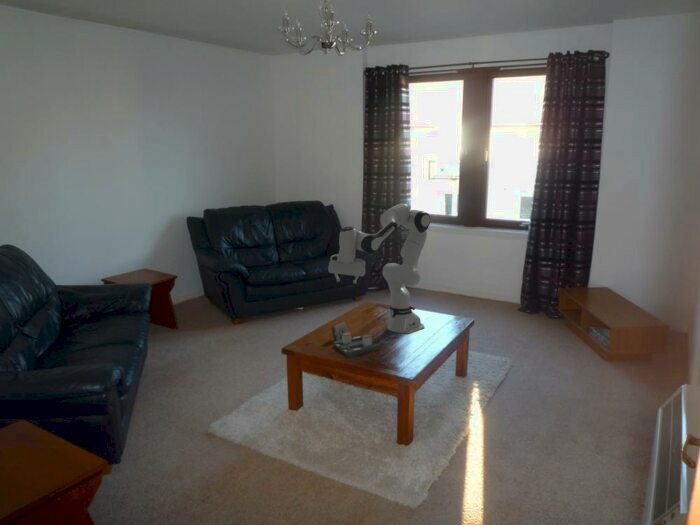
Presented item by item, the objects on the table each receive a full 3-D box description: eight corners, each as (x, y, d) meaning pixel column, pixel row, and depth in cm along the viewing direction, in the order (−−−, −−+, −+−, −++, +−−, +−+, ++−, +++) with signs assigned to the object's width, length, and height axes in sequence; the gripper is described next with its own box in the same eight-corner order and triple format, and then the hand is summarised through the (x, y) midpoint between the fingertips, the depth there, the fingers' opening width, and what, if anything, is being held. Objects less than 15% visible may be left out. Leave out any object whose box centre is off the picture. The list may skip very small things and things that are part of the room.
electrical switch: (338, 342, 286) (337, 326, 285) (331, 341, 290) (330, 325, 288) (348, 338, 293) (347, 322, 292) (341, 336, 297) (340, 321, 295)
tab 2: (368, 343, 280) (368, 334, 279) (371, 345, 278) (372, 336, 276) (362, 345, 278) (362, 335, 277) (365, 347, 276) (365, 337, 274)
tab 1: (348, 341, 283) (348, 332, 282) (351, 343, 281) (351, 334, 279) (342, 343, 281) (342, 333, 280) (345, 345, 279) (345, 335, 277)
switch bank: (365, 339, 291) (365, 334, 291) (380, 349, 278) (380, 344, 277) (333, 346, 282) (333, 341, 281) (348, 356, 268) (348, 351, 268)
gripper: (367, 258, 275) (366, 283, 278) (331, 254, 281) (331, 279, 284) (363, 260, 269) (363, 286, 272) (327, 256, 275) (327, 281, 279)
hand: (346, 282), depth 278 cm, fingers open, 8 cm apart
